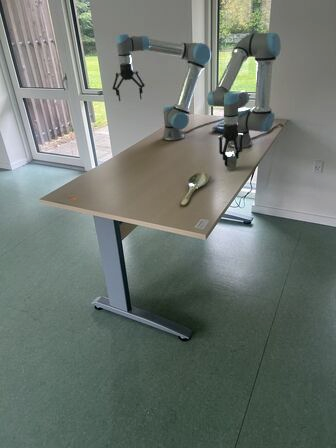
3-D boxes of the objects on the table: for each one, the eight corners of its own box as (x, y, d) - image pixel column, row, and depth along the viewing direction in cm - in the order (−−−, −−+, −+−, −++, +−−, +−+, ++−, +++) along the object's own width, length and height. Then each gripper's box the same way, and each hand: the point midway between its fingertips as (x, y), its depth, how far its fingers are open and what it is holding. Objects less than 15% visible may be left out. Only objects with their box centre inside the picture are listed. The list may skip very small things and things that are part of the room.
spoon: (193, 209, 156) (193, 205, 155) (172, 207, 159) (171, 203, 158) (212, 175, 182) (212, 172, 181) (193, 174, 186) (193, 170, 184)
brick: (225, 164, 192) (225, 152, 188) (233, 164, 192) (233, 151, 188) (227, 169, 186) (227, 156, 182) (236, 168, 186) (236, 155, 182)
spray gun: (237, 125, 262) (219, 125, 268) (237, 120, 259) (219, 119, 266) (229, 134, 246) (210, 133, 253) (229, 128, 244) (210, 127, 250)
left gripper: (104, 65, 200) (110, 102, 211) (146, 62, 200) (149, 99, 211) (105, 64, 206) (111, 100, 217) (146, 60, 206) (149, 96, 217)
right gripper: (215, 127, 173) (215, 169, 186) (249, 123, 173) (247, 165, 186) (212, 123, 179) (213, 163, 192) (245, 119, 179) (244, 160, 192)
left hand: (130, 99), depth 214 cm, fingers open, 13 cm apart
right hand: (230, 164), depth 189 cm, fingers closed on brick, 5 cm apart
